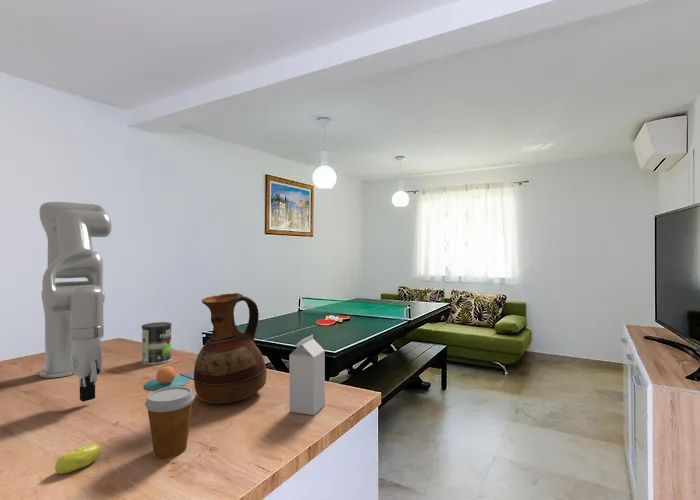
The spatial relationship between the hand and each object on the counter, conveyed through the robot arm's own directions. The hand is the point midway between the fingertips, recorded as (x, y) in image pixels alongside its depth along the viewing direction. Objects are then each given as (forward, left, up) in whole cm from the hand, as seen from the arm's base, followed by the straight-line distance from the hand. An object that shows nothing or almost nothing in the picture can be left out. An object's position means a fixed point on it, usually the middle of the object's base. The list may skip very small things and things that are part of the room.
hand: (87, 399), depth 106 cm
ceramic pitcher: (+26, +28, -2) cm, 38 cm away
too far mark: (0, +34, -2) cm, 34 cm away
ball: (+1, +21, +1) cm, 21 cm away
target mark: (0, +22, -2) cm, 22 cm away
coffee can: (-28, +32, -2) cm, 43 cm away
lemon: (+34, -12, -2) cm, 36 cm away
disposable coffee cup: (+42, +2, -2) cm, 42 cm away
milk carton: (+50, +35, -2) cm, 61 cm away
